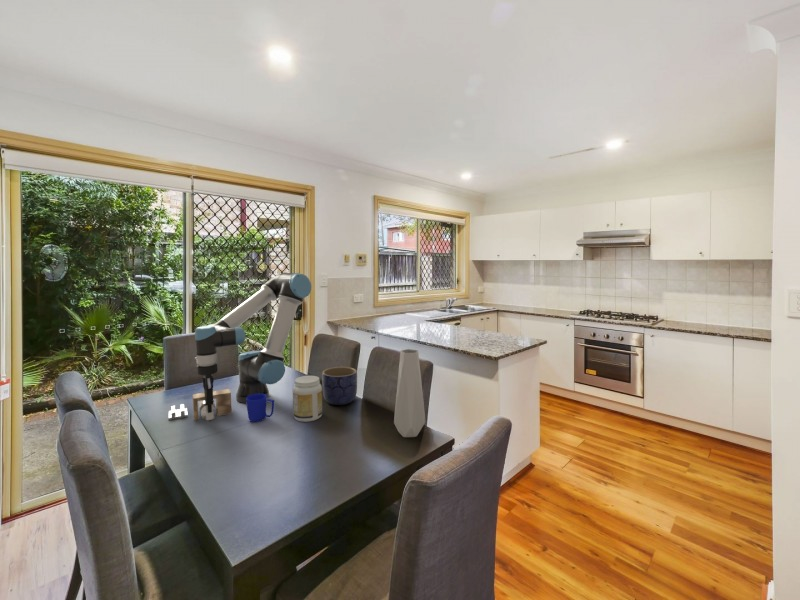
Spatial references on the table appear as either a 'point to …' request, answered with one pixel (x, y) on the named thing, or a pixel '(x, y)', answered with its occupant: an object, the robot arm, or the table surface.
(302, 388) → the supplement tub
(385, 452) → the table surface
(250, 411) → the mug
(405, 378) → the vase
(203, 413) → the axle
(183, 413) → the v block
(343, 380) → the planter
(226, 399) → the wooden block with opening
